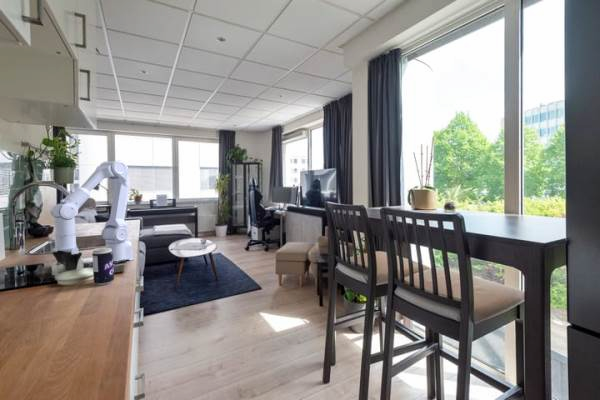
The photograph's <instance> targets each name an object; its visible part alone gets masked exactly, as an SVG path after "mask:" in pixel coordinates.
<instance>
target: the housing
mask: <svg viewBox="0 0 600 400" xmlns="http://www.w3.org/2000/svg"><path fill="white" fill-rule="evenodd" d="M82 268H85V267H84V260H83V259H81V258H80V259H79V261H78V264H77V269H82ZM66 271H68V270H67V266H66V262H65V261H61V262H57V261H56V262H53V263H51V276H52V275H55V276H56V275H58V274H60V273H63V272H66Z"/></svg>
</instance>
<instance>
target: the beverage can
mask: <svg viewBox="0 0 600 400" xmlns="http://www.w3.org/2000/svg"><path fill="white" fill-rule="evenodd" d="M91 255H92V268H93V275H94V280H93V283H94V284H96V285H97V286H106V285H108V284H111V283H112V282H113V281H114V280H115V271H114V264H113V251H112V250H111V247H106V246H103V247H97V248H94V249H93V251H92V253H91Z"/></svg>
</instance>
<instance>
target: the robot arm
mask: <svg viewBox="0 0 600 400" xmlns="http://www.w3.org/2000/svg"><path fill="white" fill-rule="evenodd" d="M107 178H108V179H109V180H111V181H112V182H113V183H114V184H115V185H114V190H113V197H112V204H111V208H110V215H109V219H108V220H107V221H106V222H105V224H104V227H103V228H102V230H101V237H102V239H103V240H104V241H105V247H111V250H112V251H113V261H118V260H122V259H129V260H130V261H134V255H133V254H134V251H133V244H132V242H131V240H129V239H128V237H129V229H128V228H129V226H128V225H129V224H128V222H126V221H125V218H126V211H127V206H128V201H129V200H128V198H129V193H130V186H131V179H130V175H129V167H128V165H127V164H126V163H125V162H124V161H121V160H113V161H112V160H111V161H103V162H101V163H100V164H99V165H98V166H96V168H95V170H94V172H92V174H91V175H90V176H89V177H88V178H87V180H86V181H85V182H84V183H83V184H82V185H81V186H80V187H74V188H72V189H69V193H68V194H67V196H65V198H63V199H60V203H57V204H55V205H54V206H53V207H52V210H51V211H50V215H51V217H53V218H54V228H55V229H54V230H55V240H56V243H55V244H56V245H55V247H53V248H52V251H53V252H51V254H52V256H53V257H54V258H55V260H56V263H57V262H61V261H65V262H66V266H67V270H68V271H70V270H75V269H77V264H78V261H79V259H81V257H82V255H83V252H79V248H78V245H77V235H76V218H75V217H76V216H78V214H79V209H80V208H81V207H82V206H83V205H84V204H85V203H86V202H87V200H89V199H90V197H91V194H90V192H92V190H94V189H95V188H96V186H97V185H99V184H100V183H101V182H102V181H103V180H105V179H107Z"/></svg>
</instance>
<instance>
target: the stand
mask: <svg viewBox="0 0 600 400" xmlns="http://www.w3.org/2000/svg"><path fill="white" fill-rule="evenodd" d="M54 278H55V280H56V281H57V285H58V286H74V285H81V284H85V283H88V282H91V281H94V275H93V267H84V268H82V269H75V270H70V271H66V272H63V273H60V274H58V275H56V276H55V277H54Z"/></svg>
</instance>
